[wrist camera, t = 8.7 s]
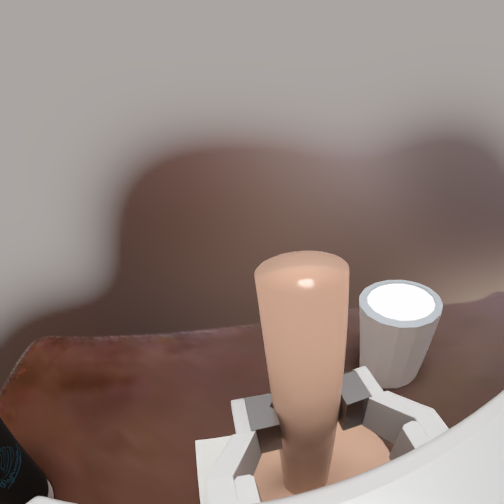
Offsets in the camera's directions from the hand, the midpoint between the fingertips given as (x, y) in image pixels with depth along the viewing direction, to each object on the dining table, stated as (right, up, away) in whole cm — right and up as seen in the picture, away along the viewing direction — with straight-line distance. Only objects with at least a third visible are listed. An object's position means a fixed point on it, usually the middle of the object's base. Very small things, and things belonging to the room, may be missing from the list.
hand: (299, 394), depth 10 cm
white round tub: (+10, -5, +12) cm, 17 cm away
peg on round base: (+1, -8, +2) cm, 8 cm away
